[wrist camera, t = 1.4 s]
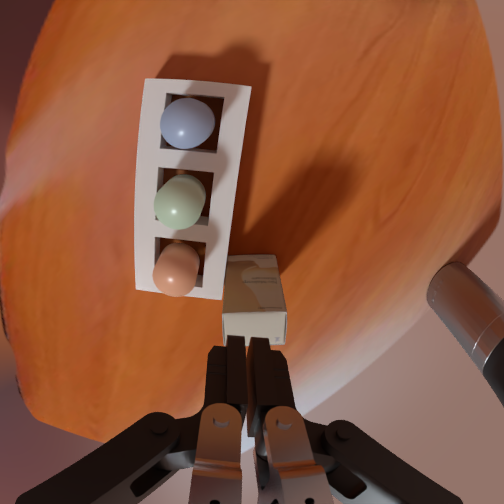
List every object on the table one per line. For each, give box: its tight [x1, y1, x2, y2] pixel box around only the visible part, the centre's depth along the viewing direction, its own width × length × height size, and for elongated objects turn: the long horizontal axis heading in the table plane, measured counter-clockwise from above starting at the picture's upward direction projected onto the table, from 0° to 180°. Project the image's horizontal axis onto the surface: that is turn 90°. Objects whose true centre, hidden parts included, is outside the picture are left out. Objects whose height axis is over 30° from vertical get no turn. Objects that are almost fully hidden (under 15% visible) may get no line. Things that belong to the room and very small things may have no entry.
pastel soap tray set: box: [134, 79, 251, 300], centre depth 33 cm, size 11×25×3 cm, turn 171°
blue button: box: [160, 98, 215, 149], centre depth 27 cm, size 5×5×4 cm
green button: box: [154, 174, 206, 230], centre depth 30 cm, size 5×5×4 cm
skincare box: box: [222, 255, 287, 346], centre depth 34 cm, size 6×4×12 cm
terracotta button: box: [152, 243, 200, 297], centre depth 34 cm, size 5×5×4 cm
